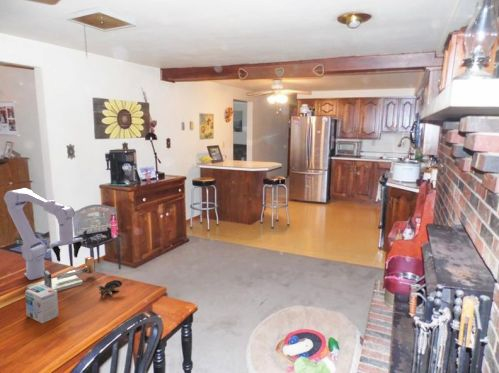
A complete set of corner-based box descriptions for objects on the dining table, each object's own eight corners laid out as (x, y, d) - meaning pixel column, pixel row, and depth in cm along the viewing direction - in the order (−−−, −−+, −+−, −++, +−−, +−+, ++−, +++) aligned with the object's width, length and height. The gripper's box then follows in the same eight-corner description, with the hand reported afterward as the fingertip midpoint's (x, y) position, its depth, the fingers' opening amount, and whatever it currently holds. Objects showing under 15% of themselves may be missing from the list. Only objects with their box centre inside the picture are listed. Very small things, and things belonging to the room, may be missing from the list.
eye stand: (27, 288, 155) (25, 272, 154) (73, 276, 170) (72, 261, 168) (34, 297, 147) (33, 281, 146) (82, 284, 162) (82, 269, 160)
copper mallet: (56, 279, 160) (55, 264, 159) (92, 269, 172) (91, 256, 171) (59, 281, 157) (58, 267, 156) (95, 272, 170) (95, 258, 168)
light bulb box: (26, 316, 133) (24, 290, 131) (43, 308, 139) (41, 283, 137) (42, 324, 128) (40, 297, 126) (59, 315, 134) (58, 290, 132)
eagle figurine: (109, 298, 147) (125, 287, 154) (100, 284, 147) (117, 274, 154) (101, 302, 151) (117, 291, 158) (93, 289, 151) (109, 278, 158)
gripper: (52, 237, 154) (53, 265, 157) (85, 231, 165) (86, 257, 167) (47, 233, 159) (48, 260, 161) (79, 227, 170) (80, 253, 172)
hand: (67, 258), depth 164 cm, fingers open, 7 cm apart
